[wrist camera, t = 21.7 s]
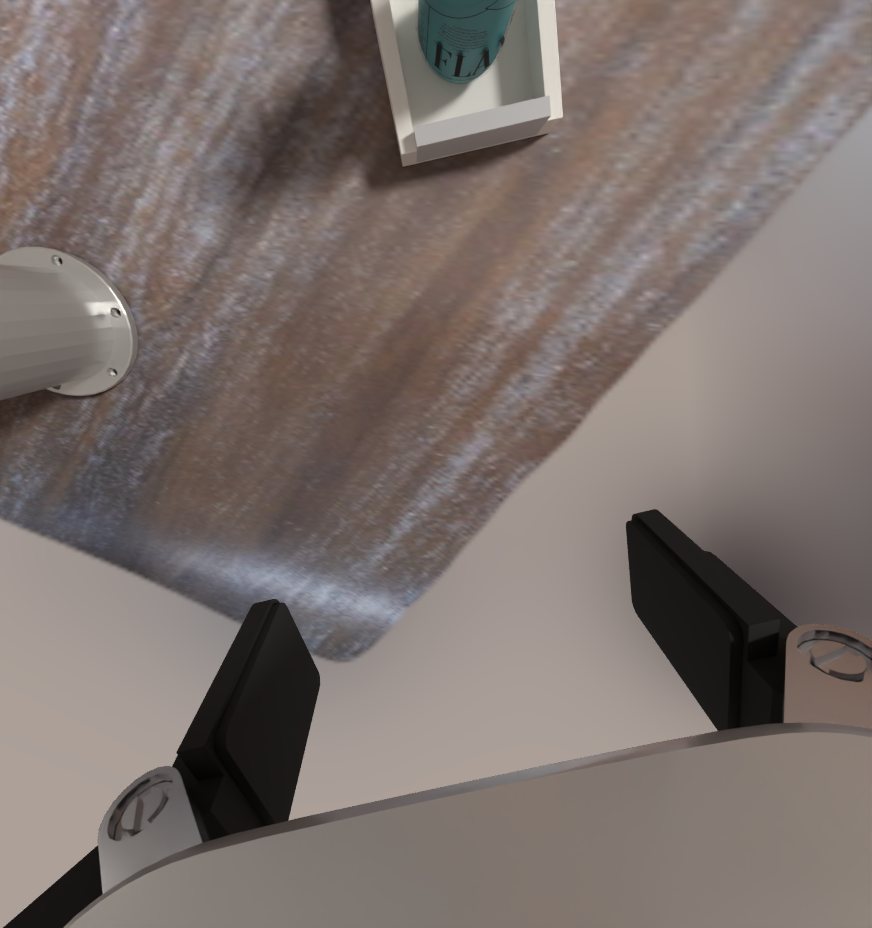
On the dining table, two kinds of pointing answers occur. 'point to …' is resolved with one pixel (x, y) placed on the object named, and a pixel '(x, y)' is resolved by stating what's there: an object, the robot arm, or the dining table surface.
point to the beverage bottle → (462, 35)
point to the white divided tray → (470, 85)
